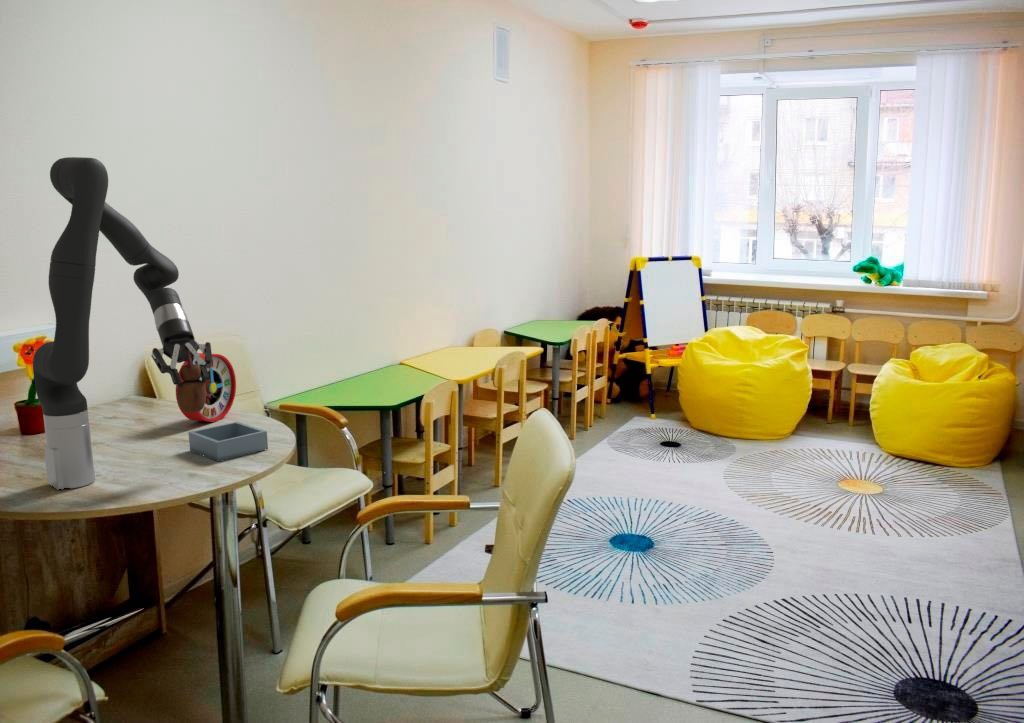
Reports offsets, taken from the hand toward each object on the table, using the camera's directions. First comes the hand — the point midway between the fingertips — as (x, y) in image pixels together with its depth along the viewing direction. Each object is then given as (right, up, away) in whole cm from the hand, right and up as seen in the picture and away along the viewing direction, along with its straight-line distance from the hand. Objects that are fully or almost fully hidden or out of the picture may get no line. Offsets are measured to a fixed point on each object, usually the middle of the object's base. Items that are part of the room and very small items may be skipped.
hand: (192, 382), depth 210 cm
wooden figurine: (-1, -7, +3) cm, 8 cm away
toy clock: (-14, -13, +53) cm, 57 cm away
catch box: (+2, -18, +22) cm, 29 cm away
